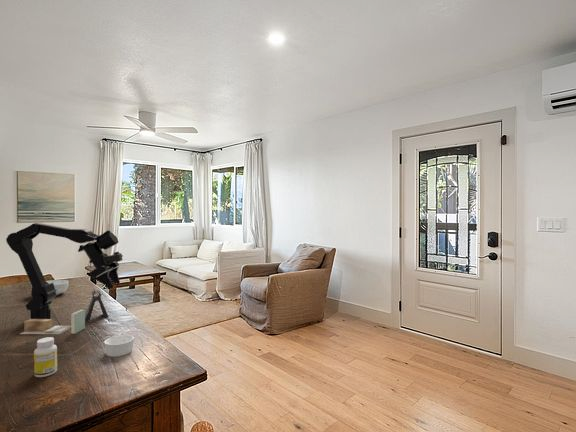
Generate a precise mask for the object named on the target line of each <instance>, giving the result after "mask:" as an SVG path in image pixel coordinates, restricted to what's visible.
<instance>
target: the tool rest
mask: <svg viewBox="0 0 576 432" xmlns="http://www.w3.org/2000/svg"><path fill="white" fill-rule="evenodd" d="M62 333H64V332H62ZM62 333H45V332H24V331H22V332H20V333H19V335H61V334H62Z"/></svg>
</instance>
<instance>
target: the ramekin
mask: <svg viewBox="0 0 576 432" xmlns="http://www.w3.org/2000/svg"><path fill="white" fill-rule="evenodd" d="M134 340H135V337H134V336H133V335H131V334H120V335H114V336H110V337H109V338H107V339H105V340H104V341H103V342H104V347H105V348H104V349H105V355H106V356H108V357H112V358H118V357H123V356H126V355H128V354H130V353H131V352H132V351H133V347H134Z"/></svg>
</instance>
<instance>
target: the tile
mask: <svg viewBox="0 0 576 432" xmlns="http://www.w3.org/2000/svg"><path fill="white" fill-rule="evenodd" d="M85 314H86V310H85V309H79V310H77V311H75V312H72V313H71V318H70V321H71V322H70V323H71V325H70V326H71V328H70V332H71V334H74V335H76V334H78V333H79V332H81V331H82V330H84V329H85V328H86V321H85Z"/></svg>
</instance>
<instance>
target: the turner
mask: <svg viewBox="0 0 576 432" xmlns="http://www.w3.org/2000/svg"><path fill="white" fill-rule="evenodd" d="M53 320H54V319H52V318H51V319H30V318H29V319H27V320H24V321H23V322H24V326H23V327H24V329H23V330H24V331H23V332H45V333H61V334H62V332H63V333H64V332H66V331H69V330H71V325H54V324H53V322H54V321H53Z"/></svg>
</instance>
